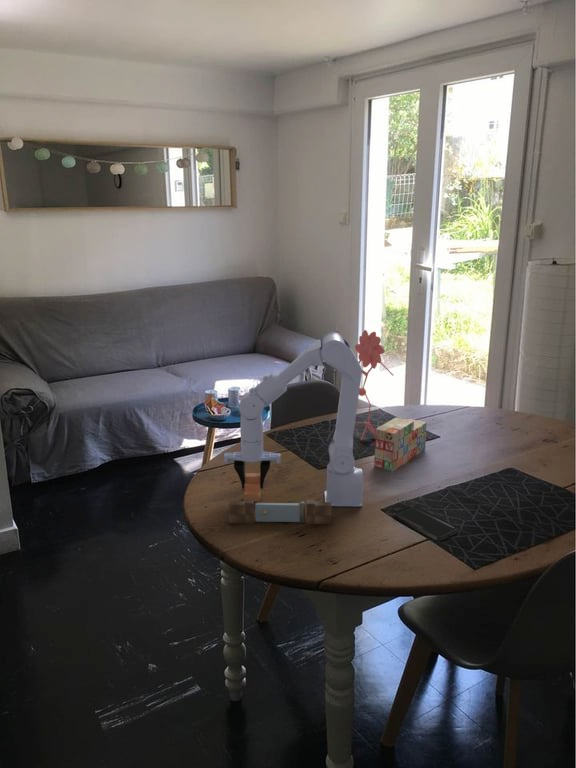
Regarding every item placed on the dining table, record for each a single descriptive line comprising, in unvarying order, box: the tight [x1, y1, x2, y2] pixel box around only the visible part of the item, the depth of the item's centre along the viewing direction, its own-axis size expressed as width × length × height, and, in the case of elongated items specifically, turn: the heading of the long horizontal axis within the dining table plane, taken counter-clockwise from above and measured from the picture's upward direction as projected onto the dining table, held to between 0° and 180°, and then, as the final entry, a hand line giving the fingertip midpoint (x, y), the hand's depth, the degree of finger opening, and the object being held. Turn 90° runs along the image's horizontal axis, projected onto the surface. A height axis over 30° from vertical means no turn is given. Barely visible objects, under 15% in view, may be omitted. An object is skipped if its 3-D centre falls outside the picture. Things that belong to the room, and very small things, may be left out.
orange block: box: [243, 472, 262, 502], centre depth 165 cm, size 4×6×5 cm, turn 179°
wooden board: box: [228, 499, 333, 525], centre depth 155 cm, size 25×2×6 cm, turn 89°
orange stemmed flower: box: [354, 329, 394, 441], centre depth 210 cm, size 15×26×35 cm, turn 36°
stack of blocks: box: [373, 417, 427, 473], centre depth 192 cm, size 21×6×12 cm, turn 142°
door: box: [254, 501, 306, 523], centre depth 155 cm, size 12×2×5 cm, turn 89°
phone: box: [393, 505, 459, 542], centre depth 155 cm, size 8×1×15 cm
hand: (252, 487), depth 166 cm, fingers closed on orange block, 4 cm apart
